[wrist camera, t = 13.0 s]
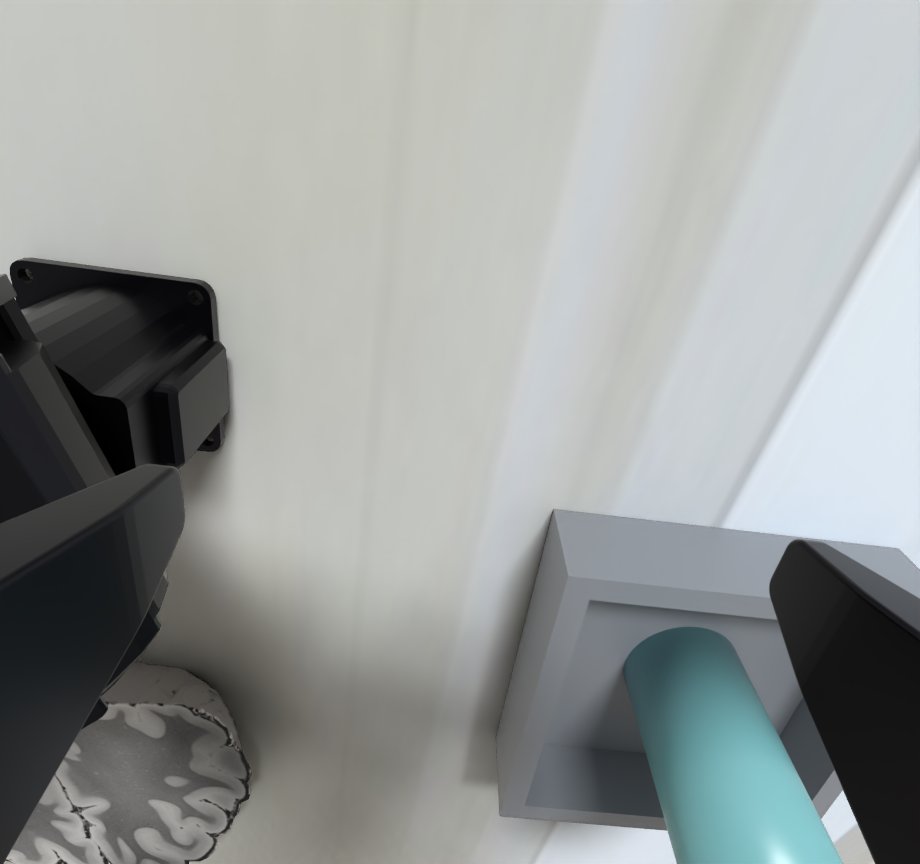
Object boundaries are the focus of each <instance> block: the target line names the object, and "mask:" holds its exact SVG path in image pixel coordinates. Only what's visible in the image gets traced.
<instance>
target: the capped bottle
mask: <svg viewBox="0 0 920 864" xmlns="http://www.w3.org/2000/svg"><path fill="white" fill-rule="evenodd" d="M624 678H625V681H626V685H627V688H628V692H629V695H630V699H631V702H632V706H633V710H634V713H635V717H636V720H637V724H638V727H639V731H640V734H641V738H642V741H643V745H644V749H645V752H646V756H647V759H648V763H649V766H650V770H651V773H652V777H653V780H654V784H655V788H656V791H657V795H658V798H659V802H660V805H661V809H662V812H663V816H664V819H665V823H666V826H667V830H668V834H669V837H670V841H671V844H672V848H673V851H674V855H675V858H676V862H677V864H843V862H842V860H841V858H840V856H839V854H838V852H837V850H836V848H835V846H834V844H833V842H832V840H831V838H830V836H829V834H828V832H827V830H826V828H825V826H824V824H823V823H822V821H821V819H820V817H819V815H818V813H817V811H816V809H815V807H814V805H813V803H812V801H811V799H810V797H809V795H808V793H807V791H806V789H805V787H804V785H803V783H802V781H801V779H800V777H799V775H798V773H797V771H796V769H795V767H794V765H793V763H792V761H791V759H790V757H789V755H788V753H787V751H786V749H785V747H784V745H783V743H782V741H781V739H780V737H779V735H778V733H777V731H776V729H775V727H774V725H773V723H772V721H771V719H770V717H769V716H768V714H767V712H766V710H765V708H764V706H763V704H762V702H761V700H760V698H759V696H758V694H757V692H756V690H755V688H754V686H753V684H752V682H751V680H750V678H749V676H748V674H747V672H746V670H745V668H744V666H743V664H742V662H741V660H740V658H739V656H738V654H737V652H736V650H735V648H734V646H733V645H732V643H731V642H730V641H729V640H728V639H727V638H726V637H724V636H723V635H721V634H720V633H718V632H715V631H713V630H710V629H706V628H701V627H678V628H672V629H668V630H664V631H661V632H659V633H656V634H654V635H652V636H650V637H648V638H646V639H645V640H643V641H642V642H641V643H639V644H638V645H637V646H636V647H635V648H634V649H633V650H632V651H631V653H630V654H629V655H628V657H627V659H626V662H625V665H624Z"/></svg>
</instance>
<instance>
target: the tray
mask: <svg viewBox="0 0 920 864" xmlns="http://www.w3.org/2000/svg"><path fill="white" fill-rule="evenodd" d="M796 539H805V540H814V541H821V542H824V543H826V544H828V545H830V546H831V547H833V548H835V549H837V550H838V551H840V552H842V553H843V554H845V555H847V556H849V557H850V558H852V559H854V560H855V561H857V562H859V563H861V564H862V565H864V566H866V567H867V568H869V569H871V570H872V571H874V572H876V573H878V574H879V575H881V576H883V577H884V578H886V579H888V580H890V581H891V582H893V583H895V584H896V585H898V586H900V587H901V588H903V589H905V590H907V591H908V592H910V593H912V594H913V595H915V596H917V597H919V598H920V569H919V568H918V567H917V566H916V565H915V564H914V563H913V562H912V561H911V560H910V559H909V558H908V557H907V556H906V555H905V554H904V553H903V552H902V551H901V550H900V549H896V548H888V547H879V546H870V545H861V544H853V543H844V542H835V541H826V540H818V539H809V538H800V537H791V536H782V535H774V534H765V533H756V532H747V531H739V530H730V529H721V528H712V527H703V526H695V525H686V524H677V523H668V522H660V521H651V520H642V519H633V518H625V517H616V516H607V515H598V514H589V513H581V512H572V511H563V510H553V514H552V518H551V522H550V526H549V530H548V534H547V538H546V542H545V546H544V549H543V553H542V557H541V561H540V565H539V569H538V573H537V577H536V581H535V585H534V589H533V593H532V597H531V601H530V605H529V609H528V613H527V617H526V620H525V624H524V628H523V632H522V636H521V640H520V644H519V648H518V652H517V656H516V660H515V664H514V668H513V672H512V676H511V680H510V684H509V688H508V692H507V695H506V699H505V703H504V707H503V711H502V715H501V719H500V723H499V727H498V731H497V735H496V752H497V772H498V793H499V814H500V816H503V817H514V818H526V819H538V820H550V821H562V822H573V823H585V824H597V825H609V826H620V827H632V828H644V829H656V830H667V826H666V823H665V819H664V816H663V812H662V809H661V805H660V802H659V798H658V795H657V791H656V788H655V784H654V780H653V777H652V773H651V770H650V766H649V763H648V759H647V756H646V752H645V749H644V745H643V741H642V738H641V734H640V731H639V727H638V724H637V720H636V717H635V713H634V710H633V706H632V702H631V699H630V695H629V692H628V688H627V685H626V681H625V678H624V665H625V662H626V659H627V657H628V655H629V654H630V653H631V651H632V650H633V649H634V648H635V647H636V646H637V645H638V644H639V643H641V642H642V641H643V640H645V639H646V638H648V637H650V636H652V635H654V634H656V633H659V632H661V631H664V630H668V629H672V628H678V627H701V628H706V629H710V630H713V631H715V632H718V633H720V634H721V635H723V636H724V637H726V638H727V639H728V640H729V641H730V642H731V643H732V645H733V646H734V648H735V650H736V652H737V654H738V656H739V658H740V660H741V662H742V664H743V666H744V668H745V670H746V672H747V674H748V676H749V678H750V680H751V682H752V684H753V686H754V688H755V690H756V692H757V694H758V696H759V698H760V700H761V702H762V704H763V706H764V708H765V710H766V712H767V714H768V716H769V717H770V719H771V721H772V723H773V725H774V727H775V729H776V731H777V733H778V735H779V737H780V739H781V741H782V743H783V745H784V747H785V749H786V751H787V753H788V755H789V757H790V759H791V761H792V763H793V765H794V767H795V769H796V771H797V773H798V775H799V777H800V779H801V781H802V783H803V785H804V787H805V789H806V791H807V793H808V795H809V797H810V799H811V801H812V803H813V805H814V807H815V809H816V811H817V813H818V815H819V817H820V819H821V818H822V817H823V816H824V814H825V813H826V812H827V810H828V809H829V808H830V806H831V805H832V803H833V802H834V801H835V799H836V798H837V797H838V795H839V794H840V793H841V791H842V790H843V789H842V786H841V784H840V782H839V779H838V777H837V775H836V772H835V770H834V768H833V765H832V763H831V761H830V759H829V756H828V754H827V752H826V749H825V747H824V745H823V742H822V740H821V738H820V736H819V733H818V731H817V729H816V726H815V724H814V722H813V719H812V717H811V715H810V712H809V710H808V708H807V705H806V703H805V701H804V698H803V696H802V693H801V691H800V688H799V685H798V682H797V679H796V676H795V674H794V670H793V667H792V664H791V661H790V658H789V655H788V652H787V649H786V645H785V642H784V639H783V636H782V633H781V630H780V627H779V624H778V620H777V617H776V614H775V611H774V608H773V605H772V602H771V599H770V594H769V584H770V580H771V577H772V575H773V573H774V571H775V569H776V567H777V565H778V563H779V561H780V559H781V557H782V555H783V553H784V551H785V549H786V547H787V546H788V544H789V543H790V542H791V541H793V540H796Z"/></svg>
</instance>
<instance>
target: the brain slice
mask: <svg viewBox="0 0 920 864" xmlns="http://www.w3.org/2000/svg"><path fill="white" fill-rule="evenodd" d="M190 675H191V676H190ZM192 676H193V677H192ZM102 698H103V699H104V701H105V702H106V703H107V705H108V710H107V712H106V714H105V715H104V716H103V717H102V718H100V719H98V720H97V721H95V722H94V723H92V724H90V725H88V726H87V727H85V728H83V729H82V730H80V732H79V734H78V735H77V737H76V739H75V741H74V742H73V744H72V746H71V748H70V749H69V751H68V753H67V754H66V756H65V758H64V760H63V761H62V763H61V765H60V767H59V768H58V770H57V772H56V774H55V775H54V777H53V779H52V780H51V782H50V784H49V786H48V787H47V789H46V791H45V793H44V794H43V796H42V798H41V799H40V801H39V803H38V805H37V806H36V808H35V810H34V812H33V813H32V815H31V817H30V819H29V820H28V822H27V824H26V825H25V827H24V829H23V831H22V832H21V834H20V836H19V838H18V839H17V841H16V843H15V845H14V846H13V848H12V850H11V851H10V853H9V855H8V857H7V858H6V861H9V862H11V863H13V864H108V861H109V863H110V864H189V861H202V860H204V859H206V858H208V857H209V856H210V855H211V854H212V853H213V852H214V851H215V850H216V848H217V847H218V842H217V838H216V837H218V836H220V835H223V834H225V833H226V832H227V831H228V830H229V829H230V828H231V825H232V822H233V820H234V818H235V816H236V815H237V814H238V813H239V809H240V805H241V802H243V801H245V800H248V799H249V796H250V792H251V788H250V776H251V770H250V767H249V765H248V763H247V761H246V759H245V756H244V754H243V752H242V746H241V743H240V740H239V738H238V735H237V732H236V725H235V722H234V721H233V719H232V716H231V715H230V713H229V710H228V708H227V706H226V705H225V703H224V702H223V701H222V699H221V697H220V695H219V694H218V693H217V692H216V691H215V690H214V689H212V688H210V686H209V685H208V684H207V683H206V682H204V681H202V680H200V679H198V678H196V677H195V676H194V675H192V674H190V673H189V672H187V671H186V670H184V669H181V668H172V667H166V666H159V665H147V664H144V663H139V662H135V663H134V664H133V665H132V666H131V667H130V668H129V669H128V670H127V671H126V672H125V673H124V674H123V675H122V676H121V677H120V679H119V680H118V681H117V682H116V683H115V684H114V685H113V686H112V687H111V688H110V689H109V690H108V691H107V692H105V693H104V694H103V695H102Z"/></svg>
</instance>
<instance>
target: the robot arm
mask: <svg viewBox="0 0 920 864" xmlns="http://www.w3.org/2000/svg"><path fill="white" fill-rule="evenodd" d="M26 269H28V270H30V271H31V272H32V274H33V276H34V280H32V279H30V278H29V277H28V276H27V274H26V272H25V271H26ZM10 276H11V281H12V284H11V282H10V280H9V279H8V277H7V275H6V274H3V275H0V864H4V862H5V860H6V858H7V857H8V855H9V853H10V851H11V850H12V848H13V846H14V845H15V843H16V841H17V839H18V838H19V836H20V834H21V832H22V831H23V829H24V827H25V825H26V824H27V822H28V820H29V819H30V817H31V815H32V813H33V812H34V810H35V808H36V806H37V805H38V803H39V801H40V799H41V798H42V796H43V794H44V793H45V791H46V789H47V787H48V786H49V784H50V782H51V780H52V779H53V777H54V775H55V774H56V772H57V770H58V768H59V767H60V765H61V763H62V761H63V760H64V758H65V756H66V754H67V753H68V751H69V749H70V748H71V746H72V744H73V742H74V741H75V739H76V737H77V735H78V734H79V732H80V730H82V729H83V728H85V727H87V726H88V725H90V724H92V723H94V722H95V721H97V720H98V719H100V718H102V717H103V716H104V715H105V714H106V712H107V710H108V705H107V703H106V702H105V701H104V699H103V698H102V695H103V694H104V693H105V692H107V691H108V690H109V689H110V688H111V687H112V686H113V685H114V684H115V683H116V682H117V681H118V680H119V679H120V677H121V676H122V675H123V674H124V673H125V672H126V671H127V670H128V669H129V668H130V667H131V666H132V665H133V664H134V663H135V662H136V661H137V660H138V659H139V658H140V657H141V655H142V654H143V653H144V651H145V650H146V649H147V647H148V646H149V645H150V643H151V642H152V640H153V639H154V638H155V636H156V635H157V633H158V631H159V630H160V627H161V622H160V620H159V618H158V617H157V613H158V612H159V610H160V607H161V604H162V601H163V599H164V596H165V593H166V590H167V587H168V578H167V573H166V567H167V565H168V563H169V560H170V558H171V556H172V553H173V551H174V549H175V546H176V544H177V542H178V539H179V537H180V535H181V532H182V530H183V526H184V521H185V510H184V500H183V491H182V482H181V475H180V473H179V470H178V469H179V468H180V467H181V466H183V465H184V464H185V463H186V462H187V461H188V460H189V459H190V458H191V456H192V455H193V454H194V453H195V451H196V450H198V451H206V452H213V451H215V450H217V449H218V448H219V447H220V446H221V444H222V443H223V442H224V438H225V435H224V420H223V417H224V415H225V414H226V413H227V412H228V410H229V395H228V378H227V362H226V349H225V347H224V346H223V345H222V343H221V342H220V341H218V329H217V314H216V299H215V293H214V290H213V289H212V287H211V286H210V285H209V284H208V283H206V282H205V281H201V280H197V279H189V278H182V277H174V276H167V275H159V274H151V273H144V272H136V271H128V270H121V269H113V268H106V267H98V266H90V265H83V264H75V263H67V262H60V261H52V260H45V259H37V258H23V259H20V260H17V261H15V262H13V263H12V264H11V266H10ZM12 285H13V286H12ZM193 290H196V291H199V292H200V293H201V294H202V296H203V298H204V299H203V302H200V301H197V300H196V299H195V298H194V296H193ZM14 297H15V298H16V300H15V299H14ZM208 435H210V436H211V437H213V439H214V441H210V440H208V439H207V436H208ZM176 468H178V469H176ZM769 594H770V599H771V602H772V605H773V608H774V611H775V614H776V617H777V620H778V624H779V627H780V630H781V633H782V636H783V639H784V642H785V645H786V649H787V652H788V655H789V658H790V661H791V664H792V667H793V670H794V674H795V676H796V679H797V682H798V685H799V688H800V691H801V693H802V696H803V698H804V701H805V703H806V705H807V708H808V710H809V712H810V715H811V717H812V719H813V722H814V724H815V726H816V729H817V731H818V733H819V736H820V738H821V740H822V742H823V745H824V747H825V749H826V752H827V754H828V756H829V759H830V761H831V763H832V765H833V768H834V770H835V772H836V775H837V777H838V779H839V782H840V784H841V786H842V789H843V791H844V793H845V795H846V798H847V800H848V802H849V805H850V807H851V809H852V812H853V814H854V816H855V818H856V821H857V823H858V825H859V828H860V830H861V832H862V835H863V837H864V839H865V842H866V844H867V846H868V848H869V851H870V853H871V855H872V858H873V860H874V862H875V864H920V598H919V597H917V596H915V595H913V594H912V593H910V592H908V591H907V590H905V589H903V588H901V587H900V586H898V585H896V584H895V583H893V582H891V581H890V580H888V579H886V578H884V577H883V576H881V575H879V574H878V573H876V572H874V571H872V570H871V569H869V568H867V567H866V566H864V565H862V564H861V563H859V562H857V561H855V560H854V559H852V558H850V557H849V556H847V555H845V554H843V553H842V552H840V551H838V550H837V549H835V548H833V547H831V546H830V545H828V544H826V543H824V542H821V541H814V540H805V539H796V540H793V541H791V542H790V543H789V544H788V546H787V547H786V549H785V551H784V553H783V555H782V557H781V559H780V561H779V563H778V565H777V567H776V569H775V571H774V573H773V575H772V577H771V580H770V584H769Z"/></svg>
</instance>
